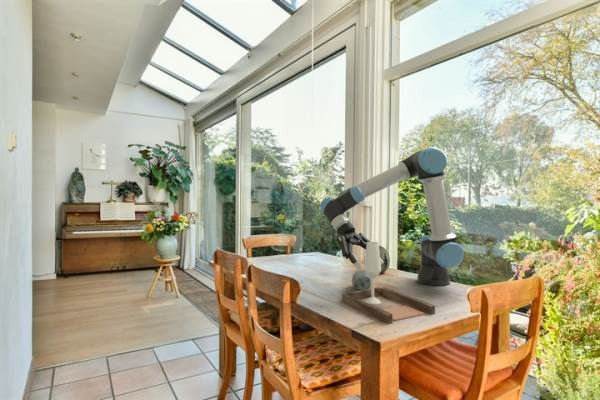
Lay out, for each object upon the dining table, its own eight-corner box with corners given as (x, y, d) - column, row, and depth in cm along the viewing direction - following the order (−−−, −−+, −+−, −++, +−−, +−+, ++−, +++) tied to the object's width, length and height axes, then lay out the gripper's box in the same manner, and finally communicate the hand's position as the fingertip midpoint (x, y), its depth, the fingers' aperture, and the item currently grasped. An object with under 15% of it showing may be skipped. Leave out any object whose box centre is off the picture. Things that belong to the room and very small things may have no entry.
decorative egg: (363, 272, 197) (363, 245, 197) (380, 269, 202) (380, 243, 201) (376, 276, 186) (376, 248, 186) (394, 274, 191) (394, 246, 191)
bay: (382, 293, 155) (382, 286, 155) (434, 313, 129) (434, 305, 129) (340, 300, 145) (340, 293, 145) (387, 323, 119) (387, 315, 119)
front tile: (405, 306, 137) (405, 305, 137) (424, 314, 128) (424, 313, 128) (376, 312, 130) (376, 310, 130) (394, 320, 122) (394, 319, 122)
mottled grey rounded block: (375, 287, 153) (365, 265, 156) (356, 296, 154) (345, 275, 157) (376, 286, 166) (367, 267, 169) (358, 295, 167) (349, 275, 170)
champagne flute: (363, 298, 147) (363, 241, 146) (379, 299, 147) (379, 241, 146) (365, 304, 140) (365, 243, 140) (382, 304, 140) (382, 243, 140)
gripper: (357, 230, 164) (384, 267, 153) (318, 235, 148) (345, 276, 137) (366, 219, 160) (394, 257, 149) (327, 223, 144) (356, 265, 133)
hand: (371, 266), depth 143 cm, fingers open, 13 cm apart
